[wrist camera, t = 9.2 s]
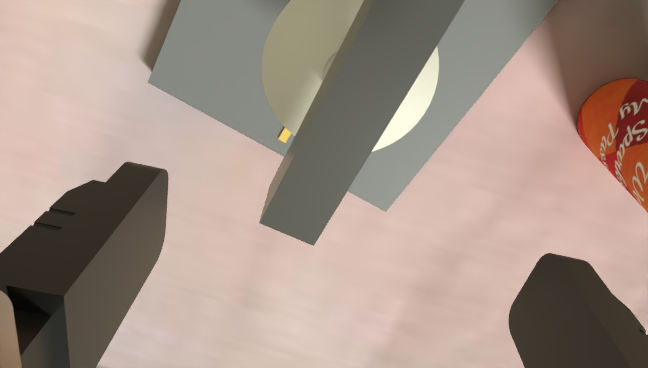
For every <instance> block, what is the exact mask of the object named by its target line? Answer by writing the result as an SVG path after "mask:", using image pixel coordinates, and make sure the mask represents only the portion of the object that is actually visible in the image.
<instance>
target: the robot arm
mask: <svg viewBox="0 0 648 368" xmlns="http://www.w3.org/2000/svg"><path fill="white" fill-rule="evenodd" d="M167 194H168V173H167V171H166V170H165V169H160V168H156V167H151V166H146V165H142V164H137V163H132V162H126V163H124V164H123V165H122V166H121V167H120V168H119V169H118V170H117V171H116V172H115V173H114V174H113V175H112V176H111V177H110V178H109V179H108V180H107V182H106V183H105V182H100V181H96V180H92V181H90V182H88V183H85V184H83V185H81V186H78V187H76V188H74V189H72V190H69V191H67V192H66V193H65V194H64V195H63V196H62V197H61V198H60V199H59V200H58V201H56V202H55V203H54V204H53V205H52V206H51V207H50V209H49V211H46V212H45V213H43V214H42V215H41V216H40V217H39V218H38V219H37V220H36V221H35V223H34V225H33V226H31V225H30V226H29V227H28V228H27V229H26V230H25V231H24V232H23V233H22V234H21V235H20V236H19V237H17V238H16V239H15V240H14V241H13V242H12V243H11V244H10V245H9V246H8V247H7V248H6V249H4V250H3V251H2V252H1V253H0V368H96V366H97V364H98V362H99V361H100V359H101V357H102V355H103V354H104V352H105V350H106V349H107V347H108V345H109V343H110V342H111V340H112V338H113V336H114V335H115V333H116V331H117V329H118V328H119V326H120V324H121V322H122V321H123V319H124V317H125V316H126V314H127V312H128V310H129V309H130V307H131V305H132V303H133V302H134V300H135V298H136V296H137V295H138V293H139V291H140V290H141V288H142V286H143V284H144V283H145V281H146V279H147V277H148V276H149V274H150V272H151V270H152V269H153V267H154V265H155V264H156V262H157V260H158V258H159V255H160V252H161V249H162V246H163V242H164V237H165V228H166V211H167ZM509 329H510V333H511V336H512V338H513V340H514V343H515V345H516V348H517V350H518V352H519V355H520V357H521V360H522V362H523V364H524V367H525V368H648V335H646V334H645V332H646V330H645V329H644V328H643V326H642V325H641V324H640V322H639V321H638V320H637V318H636V317H635V316H634V314H633V313H632V312H631V310H630V309H629V308H628V307H626V306H625V305H624V304H623V303H622V302H621V301H620V300H618V299H617V298H616V297H615V296H614V295H613V294H612V293H611V292H610V290H609V289H608V288H607V286H606V285H605V284H604V282H603V281H602V280H601V278H600V277H599V276H598V274H597V273H596V272H595V270H594V269H593V268H592V266H591V265H590V264H589V263H588V262H586V261H584V260H580V259H575V258H570V257H566V256H561V255H556V254H552V253H548V254H545V255H544V256H542V257H541V258H540V259H539V261H538V262H537V264H536V266H535V267H534V269H533V271H532V272H531V274H530V276H529V277H528V279H527V281H526V282H525V284H524V286H523V287H522V289H521V291H520V292H519V294H518V295H517V297H516V299H515V300H514V302H513V304H512V306H511V309H510V313H509Z"/></svg>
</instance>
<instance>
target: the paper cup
mask: <svg viewBox="0 0 648 368" xmlns="http://www.w3.org/2000/svg"><path fill="white" fill-rule="evenodd" d="M577 130H578V133H579V136H580V137H581V139H582V141H583V142H584V143H585V144H586V146H587V147H588V148H589V149H590V150H591V152H592V153H593V154H594V155H595V156H596V157H597V158H598V159H599V160H600V162H601V163H602V164H603V165H604V166H605V167H606V168H607V169H608V170H609V171H610V172H611V173H612V175H613V176H614V177H615V178H616V179H617V180H618V181H619V182H620V183H621V184H622V185H623V186H624V188H625V189H626V190H627V191H628V192H629V193H630V194H631V195H632V196H633V197H634V198H635V199H636V200H637V201H638V203H639V204H640V205H641V206H642V207H643V208H644V209H645V210H646V211H647V212H648V82H646V81H643V80H639V79H632V78H626V79H619V80H615V81H612V82H610V83H608V84H606V85H604V86H602V87H600V88H599V89H598V90H596V91H595V92H594V93H593V94H592V95H591V96H590V97H589V98H588V99H587V100H586V101H585V103H584V104H583V106H582V108H581V110H580V112H579V115H578V119H577Z"/></svg>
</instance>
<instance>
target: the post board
mask: <svg viewBox="0 0 648 368" xmlns="http://www.w3.org/2000/svg"><path fill="white" fill-rule="evenodd" d="M290 1H291V0H181V1H180V4H179V6H178V9H177V11H176V14H175V16H174V19H173V21H172V24H171V26H170V29H169V31H168V33H167V36H166V38H165V41H164V43H163V46H162V48H161V51H160V53H159V56H158V58H157V61H156V63H155V66H154V68H153V71H152V73H151V76H150V78H149V80H148V83H150V84H152V85H153V86H155V87H157V88H159V89H161V90H163V91H164V92H166V93H168V94H170V95H172V96H174V97H176V98H177V99H179V100H181V101H183V102H185V103H187V104H188V105H190V106H192V107H194V108H196V109H198V110H199V111H201V112H203V113H205V114H207V115H209V116H210V117H212V118H214V119H216V120H218V121H220V122H222V123H223V124H225V125H227V126H229V127H231V128H233V129H234V130H236V131H238V132H240V133H242V134H244V135H245V136H247V137H249V138H251V139H253V140H255V141H256V142H258V143H260V144H262V145H264V146H266V147H268V148H269V149H271V150H273V151H275V152H277V153H279V154H280V155H282V156H284V157H285V155H286V153H287V151H288V149H289V147H290V145H291V143H292V141H293V139H294V137H295V136H294V135H292V134H291V133H290V132H289V131H288V130H287V129H286V128H285V127H284V126H283V125H282V123H281V122H280V121H279V120H278V118H277V117H276V115H275V114H274V112H273V111H272V108H271V106H270V104H269V102H268V100H267V97H266V94H265V91H264V86H263V81H262V69H261V68H262V55H263V50H264V45H265V42H266V39H267V36H268V34H269V32H270V30H271V28H272V26H273V24H274V22H275V21H276V19H277V18H278V16H279V15H280V13H281V12H282V11H283V9H284V8H285V7H286V5H287V4H288V3H289V2H290ZM558 1H559V0H465V1H464V3H463V4H462V6H461V8H460V9H459V11H458V13H457V14H456V16H455V17H454V19H453V21H452V22H451V24H450V26H449V27H448V29H447V30H446V32H445V34H444V35H443V37H442V38H441V40H440V42H439V43H438V45H437V49H438V56H439V74H438V81H437V85H436V89H435V93H434V95H433V98H432V100H431V103H430V105H429V107H428V108H427V110H426V112H425V114H424V115H423V116H422V118H421V119H420V120H419V122H418V123H417V124H416V125H415V126H414V127H413V128H412V129H411V130H410V131H409V132H408V133H407V134H405V135H404V136H403V137H402V138H400V139H399V140H397V141H395V142H394V143H392V144H390V145H388V146H386V147H384V148H381V149H378V150H376V151H372V152H371V154H370V155H369V157H368V158H367V160H366V162H365V163H364V165H363V167H362V168H361V170H360V171H359V173H358V175H357V176H356V178H355V179H354V181H353V183H352V184H351V186H350V188H349V189H348V192H350V193H352V194H354V195H356V196H358V197H359V198H361V199H363V200H365V201H367V202H369V203H371V204H372V205H374V206H376V207H378V208H380V209H382V210H383V211H385V212H386V211H387V210H388V209H389V207H390V206H391V205H392V204H393V202H394V201H395V200H396V199H397V198H398V196H399V195H400V194H401V193H402V191H403V190H404V189H405V188H406V187H407V185H408V184H409V183H410V182H411V180H412V179H413V178H414V177H415V176H416V174H417V173H418V172H419V171H420V169H421V168H422V167H423V166H424V165H425V163H426V162H427V161H428V160H429V158H430V157H431V156H432V155H433V154H434V152H435V151H436V150H437V149H438V147H439V146H440V145H441V144H442V143H443V141H444V140H445V139H446V138H447V136H448V135H449V134H450V133H451V132H452V130H453V129H454V128H455V127H456V125H457V124H458V123H459V122H460V120H461V119H462V118H463V117H464V116H465V114H466V113H467V112H468V111H469V109H470V108H471V107H472V106H473V105H474V103H475V102H476V101H477V100H478V98H479V97H480V96H481V95H482V94H483V92H484V91H485V90H486V89H487V87H488V86H489V85H490V84H491V83H492V81H493V80H494V79H495V78H496V76H497V75H498V74H499V73H500V72H501V70H502V69H503V68H504V67H505V65H506V64H507V63H508V62H509V61H510V59H511V58H512V57H513V56H514V54H515V53H516V52H517V51H518V50H519V48H520V47H521V46H522V45H523V43H524V42H525V41H526V40H527V38H528V37H529V36H530V35H531V34H532V32H533V31H534V30H535V29H536V27H537V26H538V25H539V24H540V23H541V21H542V20H543V19H544V18H545V16H546V15H547V14H548V13H549V12H550V10H551V9H552V8H553V7H554V5H555V4H556V3H557V2H558Z"/></svg>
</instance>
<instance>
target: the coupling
mask: <svg viewBox="0 0 648 368" xmlns="http://www.w3.org/2000/svg"><path fill="white" fill-rule="evenodd" d="M464 1H465V0H291V1H290V2H289V3H288V4H287V5H286V7H285V8H284V9H283V11H282V12H281V13H280V15H279V16H278V18H277V19H276V21H275V22H274V24H273V26H272V28H271V30H270V32H269V34H268V36H267V39H266V42H265V45H264V50H263V55H262V68H261V69H262V81H263V86H264V91H265V94H266V97H267V100H268V102H269V104H270V106H271V108H272V111H273V112H274V114H275V115H276V117H277V118H278V120H279V121H280V122H281V123H282V125H283V126H284V127H285V128H286V129H287V130H288V131H289V132H290V133H291V134H292V135H294V136H295V137H294V139H293V141H292V143H291V145H290V147H289V149H288V151H287V153H286V155H285V157H284V159H283V161H282V163H281V165H280V167H279V169H278V171H277V173H276V175H275V177H274V179H273V180H272V182H271V184H270V187H269V191H268V194H267V198H266V201H265V205H264V208H263V212H262V215H261V219H260V222H259V223H260V224H263V225H265V226H268V227H270V228H272V229H275V230H277V231H280V232H282V233H284V234H287V235H289V236H292V237H294V238H296V239H299V240H301V241H304V242H306V243H308V244H311V245H313V246H314V244H315V243H316V241H317V239H318V238H319V236H320V235H321V233H322V231H323V230H324V228H325V226H326V225H327V223H328V222H329V220H330V218H331V217H332V215H333V213H334V212H335V210H336V209H337V207H338V205H339V204H340V202H341V201H342V199H343V197H344V196H345V194H346V192H347V191H348V189H349V188H350V186H351V184H352V183H353V181H354V179H355V178H356V176H357V175H358V173H359V171H360V170H361V168H362V167H363V165H364V163H365V162H366V160H367V158H368V157H369V155H370V154H371V152H372V151H376V150H378V149H381V148H384V147H386V146H388V145H390V144H392V143H394V142H395V141H397V140H399V139H400V138H402V137H403V136H404V135H405V134H407V133H408V132H409V131H410V130H411V129H412V128H413V127H414V126H415V125H416V124H417V123H418V122H419V120H420V119H421V118H422V116H423V115H424V114H425V112H426V110H427V108H428V107H429V105H430V103H431V100H432V98H433V95H434V93H435V89H436V85H437V81H438V74H439V56H438V49H437V45H438V43H439V42H440V40H441V38H442V37H443V35H444V34H445V32H446V30H447V29H448V27H449V26H450V24H451V22H452V21H453V19H454V17H455V16H456V14H457V13H458V11H459V9H460V8H461V6H462V4H463V3H464Z"/></svg>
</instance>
